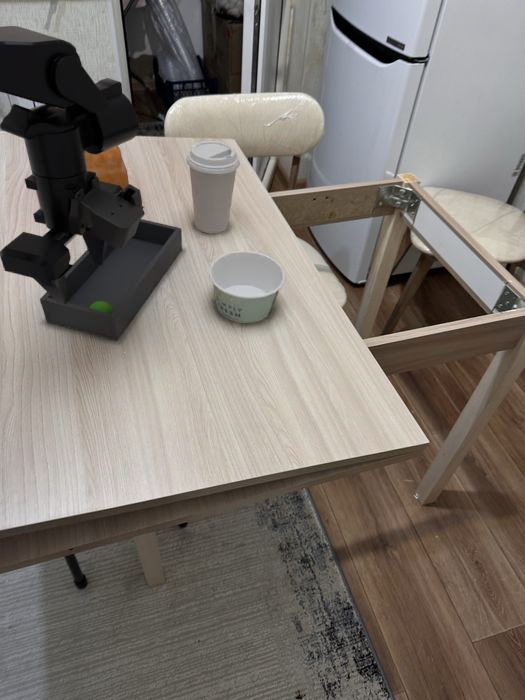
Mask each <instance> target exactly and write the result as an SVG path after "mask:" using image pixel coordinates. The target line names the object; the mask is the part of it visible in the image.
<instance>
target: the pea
mask: <svg viewBox="0 0 525 700" xmlns="http://www.w3.org/2000/svg"><path fill="white" fill-rule="evenodd" d="M90 308H91V309H95V310H99V311H103V312H107V313H110V314H112V313H113V309H112V307H111V306H110V305H109V304H108V303H107V302H104V301H97V302H95V303H93V304H92V305H91V306H90Z"/></svg>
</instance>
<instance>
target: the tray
mask: <svg viewBox="0 0 525 700" xmlns="http://www.w3.org/2000/svg"><path fill="white" fill-rule="evenodd" d="M182 238H183V237H182V228H181V227H177V226H173V225H169V224H165V223H160V222H156V221H152V220H148V219H143V218H141V219H140V221H139V224H138V227H137V230H136V233H135V235H134V236H132V237H131V239H130V240H129V241H128V242H127V243H126V245H125V246H124V247H123V248H114V247H112V246H110V245H109V244H108V243H107V246H106V251H105V256H104V261H103V264H102V265H98V264H95V263H94V261H93V259H92V257H91V255H90V253H89V251H88V249H86V250H85V251H84V252H83V253H82V254H81V255H80V256H79V257H78V259H76V261H75V262H73V264H72V265H73V267H72V268H71V269H70V270H69V271H68V272H67V273H66V274H65V280H66V289H67V304H66V305H63V304H59V303H58V302H57V301H56V300H55V299H54V298H53V297H52V296H51V295H50V294H49V293H48V292H47V291H45V293H44V294H43V295H42V296H41V297H40V298H39V301H40V305H41V308H42V311H43V315H44V318H45V322H46V323H48V324H52V325H56V326H61V327H64V328H68V329H72V330H75V331H78V332H83V333H87V334H90V335H94V336H98V337H101V338H106V339H109V340H113V341H117V342H119V340H120V339H121V337H122V336H123V334H124V333H125V332H126V330H127V329H128V327H129V326H130V325H131V323H132V321H134V319H135V317H136V316H137V314H138V313H139V311H140V310H141V309H142V307H143V305H145V304H146V301H147V300H148V299H149V297H150V295H152V293H153V291H154V290H155V289H156V287H157V286H158V285H159V283H160V282H161V281H162V280H163V277H164V276H165V275H166V273H167V272H168V271H169V269H170V267H171V266H172V265H173V263H174V261H175V260H176V259H177V257H178V256H179V255H180V253H181V252H182V251H183V242H182V241H183V239H182ZM97 301H104V302H107V303H108V304H109V305H110V306H111V307H112V309H113V313H112V314H110V313H107V312H103V311H99V310H95V309H91V308H90V306H91V305H92V304H93V303H95V302H97Z"/></svg>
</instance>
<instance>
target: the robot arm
mask: <svg viewBox="0 0 525 700" xmlns="http://www.w3.org/2000/svg"><path fill="white" fill-rule="evenodd" d="M0 93H2V94H6V95H10V96H13V97H17V98H20V99H23V100H27V101H32V102H34V103H38V104H41V105H38V106H35V107H31V108H29V107H24V106H22V105H19V104H17V103H12V105H11V108H10V111H9V112H8V113H7V114H6V116H4V118H3V119H2V120H1V122H0V130H1V131H3V132H5V133H8V134H11V135H13V136H15V137H18V138H21V139H23V140H24V141H23V142H24V145H25V150H26V153H27V159H28V162H29V166H30V171H31V174H30V175H29V176H27V177H26V178H24V183H25V187H26V189H28V190H33V191H35V192H36V196H37V201H38V204H39V209H38V210H36V211H35V212H34V213H33V219H34V223H38V224H41V225H42V224H43V225H45V226H46V228H47V229H48V231H47V232H46V233H44V234H43V235H40V234H39V235H38V234H35V233H30V232H26V231H22V232H21V233H20V234H19V235H17V236H16V237H15V238H14V239H13V240H11V241H10V242H9V243H8V244H7V245H5V246H4V247H3V248H2V249H1V250H0V260H1V261H0V262H1V263H2V264H1V265H2V267H3V270H4V271H5V272H8V273H11V274H16V275H19V276H23V277H27V278H32V279H33V280H34V281H36V283H38V284H39V286H40V287H42V289H44V291H45V292H48V293H49V294H50V295H51V296H52V297H53V298H54V299H55V300H56V301H57V302H58V303H59V304H63V305H66V304H67V289H66V280H65V274H66V273H67V272H68V271H69V270H70V269H71V268H72V267H73V264H71V263H70V262H71V258H72V257H71V252H70V249H69V248H68V247H67V245H68V244H69V243H71V242H72V241H73V240H74V239H75V238H76V237H77V236H82V239H83V242H84V243H85V246H86V248H87V249H88V251H89V253H90V255H91V257H92V259H93V261H94V263H95V264H98V265H102V264H103V261H104V256H105V251H106V246H107V243H108V244H109V245H110V246H112V247H114V248H123V247H124V246H125V245H126V243H127V242H128V241H129V240H130V239H131V237H132V236H134V235H135V233H136V230H137V227H138V224H139V221H140V219H143V217H145V215H146V212H145V210H144V208H145V206H144V205H143V199H142V193H141V189H140V188H138V187H136V186H134V185H132V184H131V183H129V185H128V186H126V187H125V188H124V189H123V188H122V187H121V186H120V185H116V184H111V183H107V182H102V181H99V178H98V177H96V173H95V172H91V171H88V170H87V164H86V157H85V151H86V152H88V153H90V154H100V153H102V152H104V151H107V150H109V149H111V148H113V147H116V146H120V145H123V144H124V143H127V142H129V141H131V140H133V139H134V138H136V136H137V135H138V132H139V129H140V120H139V119H140V118H139V116H138V114H137V112H136V109H135V107H134V105H133V103H132V101H130V99H129V98H128V97H127V95H125V93H123V84H122V82H121V81H119V80H116V79H113V78H109V77H106V78H103V79H99V81H97V82H96V83H95V82H94V80H93V79H92V77H91V76H90V75H89V73H88V71H87V70H86V69H85V68H84V66H83V64H82V61H81V57H80V55H79V54H78V51H77V47H76V46H75V45H74V44H73V43H71V42H70V41H67V40H64V39H61V38H59V37H55V36H51V35H48V34H44V33H42V32H37V31H35V30H33V29H32V30H31V29H28V28H24V27H22V26H18V25H4V26H0ZM56 107H57V108H56ZM87 249H86V250H87Z"/></svg>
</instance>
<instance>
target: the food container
mask: <svg viewBox="0 0 525 700" xmlns="http://www.w3.org/2000/svg"><path fill="white" fill-rule="evenodd" d="M208 278H209V280H210V282H211V284H212V286H213V293H214V297H215V303H216V308H217V310H218V312H219V313H220V314H221V315H222V316H223V317H224V318H226V319H227V320H230V321H232V322H236V323H239V324H253V323H258V322H261V321H263V320H265V319H266V318H267V317H268V316H270V314H271V313H272V310H273V307H274V305H275V302H276V299H277V297H278V295H279V292H280V290H281V289H282V288H283V286H284V285H285V282H286V272H285V270H284V268H283V266H282V265H281V264H280V263H279V262H278V261H277V260H276V259H274V258H272V257H271V256H268V255H266V254H264V253H261V252H257V251H250V250H237V251H236V250H235V251H230V252H226V253H224V254H222V255H219V256H218V257H217V258H215V259H214V260H213V261H212V262H211V263H210V265H209V267H208Z"/></svg>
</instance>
